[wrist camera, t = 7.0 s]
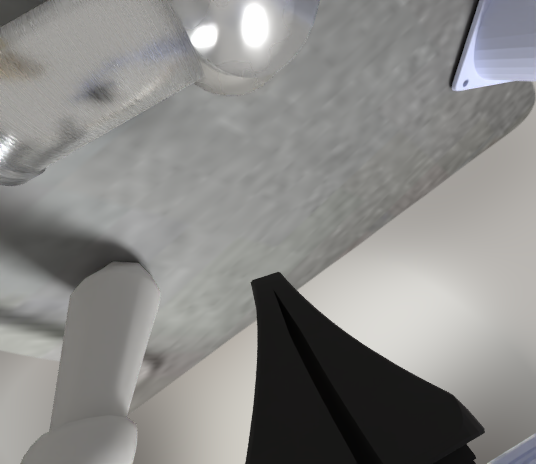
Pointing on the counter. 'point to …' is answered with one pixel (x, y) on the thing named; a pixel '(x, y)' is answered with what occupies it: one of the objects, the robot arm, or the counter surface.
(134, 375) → the salt shaker
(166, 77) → the elbow
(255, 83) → the duct stub
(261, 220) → the counter surface
